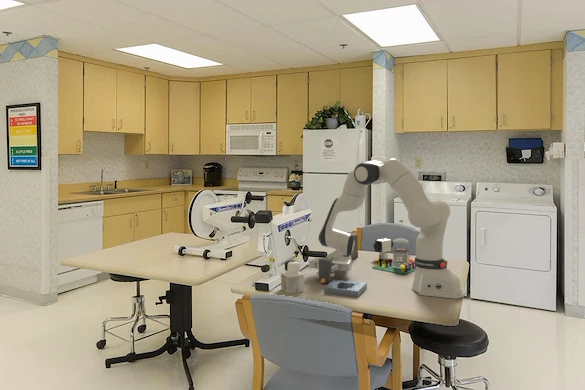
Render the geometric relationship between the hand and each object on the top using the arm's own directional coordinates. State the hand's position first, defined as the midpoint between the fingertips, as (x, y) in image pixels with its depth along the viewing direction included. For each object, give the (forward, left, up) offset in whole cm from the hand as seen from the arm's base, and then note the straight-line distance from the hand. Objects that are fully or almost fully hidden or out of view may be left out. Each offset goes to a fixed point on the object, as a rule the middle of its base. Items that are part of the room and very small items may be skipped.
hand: (324, 268), depth 212 cm
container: (+6, +17, -7) cm, 20 cm away
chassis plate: (-14, +5, -7) cm, 16 cm away
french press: (-20, -47, -7) cm, 51 cm away
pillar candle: (+14, -53, -7) cm, 55 cm away
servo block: (0, -1, -6) cm, 6 cm away
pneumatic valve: (-4, -59, -7) cm, 59 cm away
